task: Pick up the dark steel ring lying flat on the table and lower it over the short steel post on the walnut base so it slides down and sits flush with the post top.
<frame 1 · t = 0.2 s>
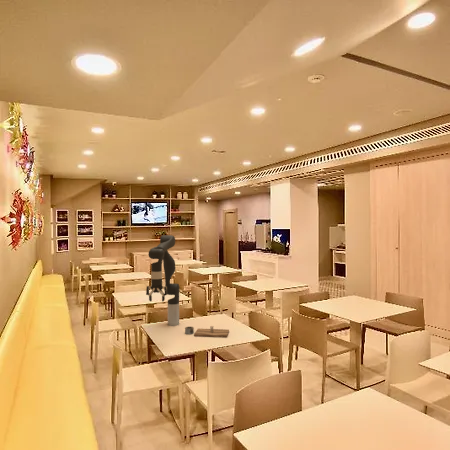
hand: (156, 301, 247), 29 cm above the table, fingers open, 8 cm apart
steel ring: (189, 333, 269), on the table
post base: (211, 333, 267), on the table
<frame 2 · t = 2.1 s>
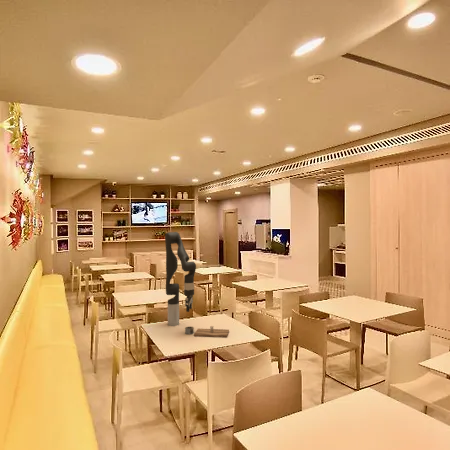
hand: (189, 310, 268), 17 cm above the table, fingers open, 8 cm apart
nothing on the table moved.
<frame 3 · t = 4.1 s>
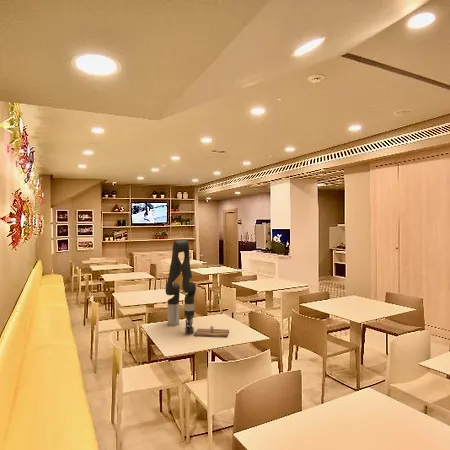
hand: (189, 331, 269), 1 cm above the table, fingers closed on steel ring, 6 cm apart
steel ring: (189, 333, 269), on the table, touching gripper
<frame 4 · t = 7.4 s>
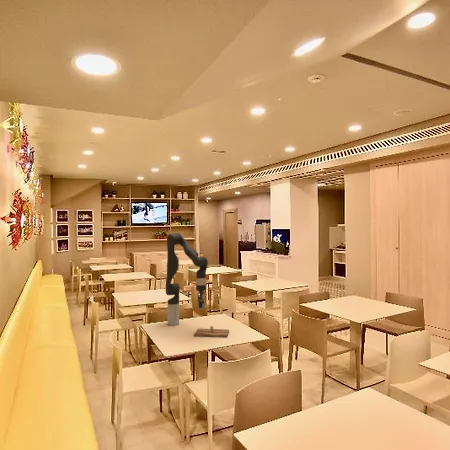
hand: (201, 306, 266), 20 cm above the table, fingers closed on steel ring, 6 cm apart
steel ring: (201, 308, 266), point 19 cm above the table, touching gripper
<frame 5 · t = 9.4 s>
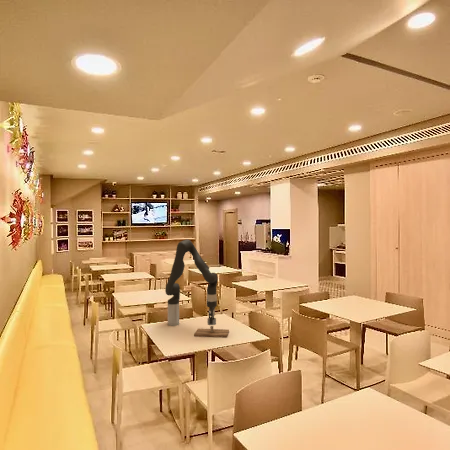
hand: (211, 322, 266), 8 cm above the table, fingers closed on steel ring, 6 cm apart
steel ring: (211, 324, 266), point 7 cm above the table, touching gripper
when the fingers open (4 cm above the table, at t = 10.8 s): steel ring drops 1 cm, resting on post base.
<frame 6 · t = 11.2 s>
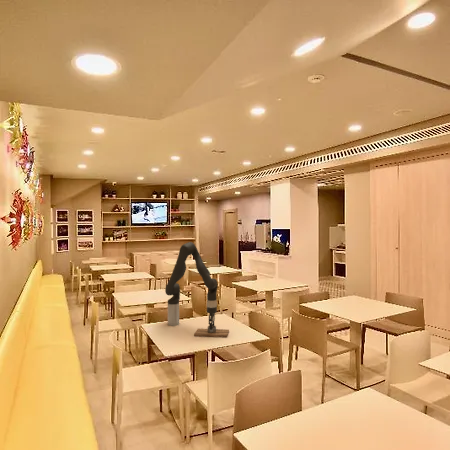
hand: (211, 327, 266), 5 cm above the table, fingers open, 8 cm apart
steel ring: (211, 331, 267), point 1 cm above the table, touching post base
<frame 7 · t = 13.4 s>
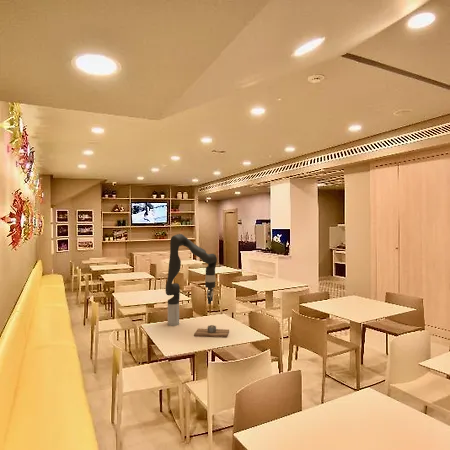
hand: (210, 302, 268), 23 cm above the table, fingers open, 8 cm apart
nothing on the table moved.
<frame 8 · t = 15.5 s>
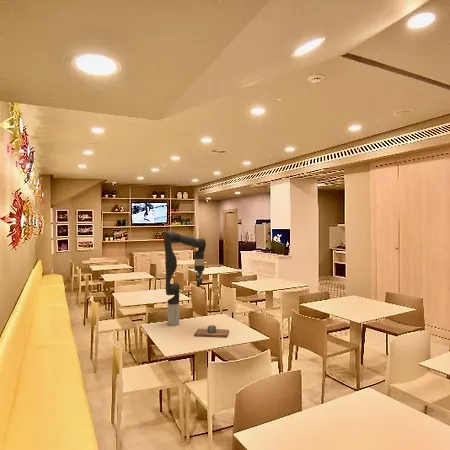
hand: (199, 285, 276), 34 cm above the table, fingers open, 8 cm apart
nothing on the table moved.
at the end: steel ring 0.1 cm off-centre on the post base, point 1.5 cm above the post base's base; steel ring tilted 0°; the gripper is holding nothing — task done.
